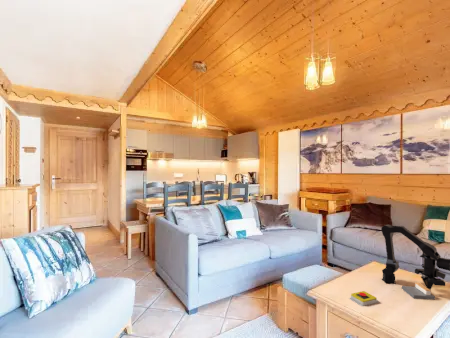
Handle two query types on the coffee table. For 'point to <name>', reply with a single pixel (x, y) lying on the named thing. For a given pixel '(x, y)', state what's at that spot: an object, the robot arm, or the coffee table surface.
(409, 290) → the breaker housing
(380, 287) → the coffee table surface
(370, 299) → the emergency button
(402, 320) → the coffee table surface
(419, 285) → the knob
